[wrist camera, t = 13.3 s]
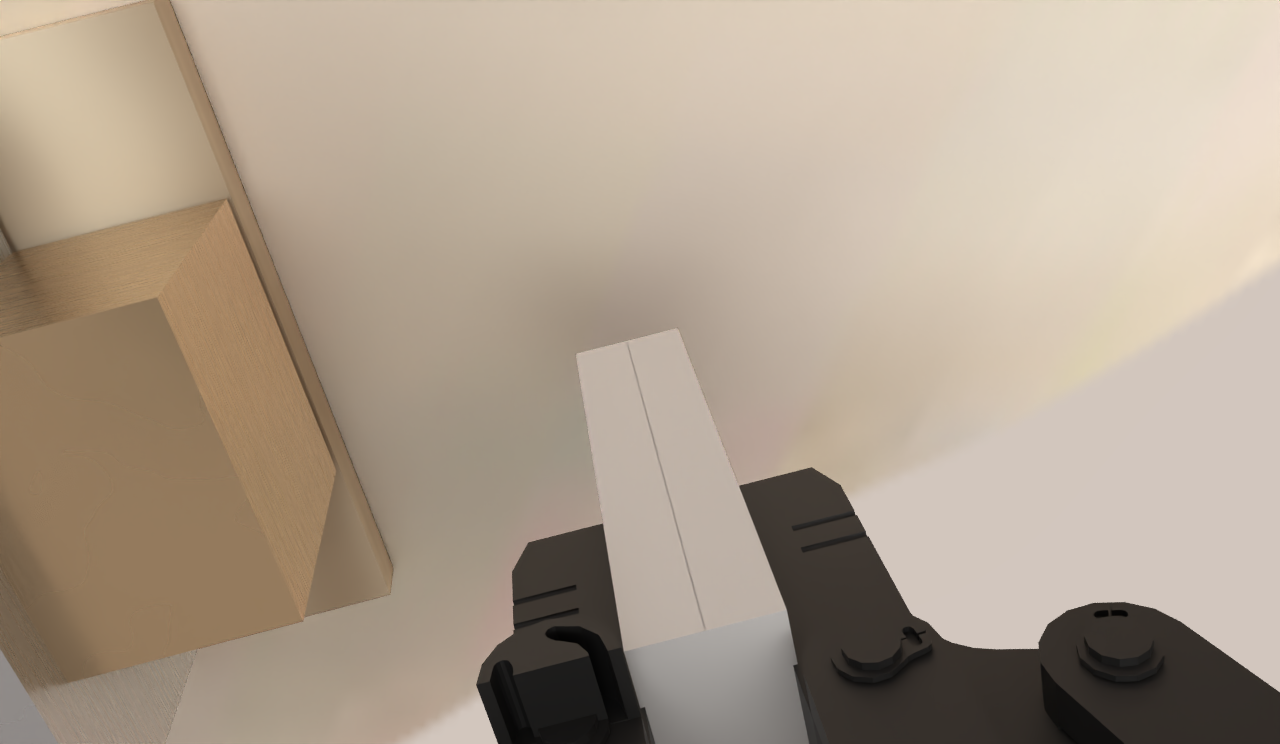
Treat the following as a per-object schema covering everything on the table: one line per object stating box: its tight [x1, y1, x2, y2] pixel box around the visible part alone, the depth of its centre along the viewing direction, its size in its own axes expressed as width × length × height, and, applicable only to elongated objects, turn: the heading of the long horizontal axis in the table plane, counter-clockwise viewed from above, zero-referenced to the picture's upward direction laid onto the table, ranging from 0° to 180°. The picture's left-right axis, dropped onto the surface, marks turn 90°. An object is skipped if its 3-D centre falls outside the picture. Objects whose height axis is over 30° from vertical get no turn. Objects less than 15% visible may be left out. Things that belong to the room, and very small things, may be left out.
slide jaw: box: [0, 198, 336, 744], centre depth 19 cm, size 6×12×6 cm, turn 13°
